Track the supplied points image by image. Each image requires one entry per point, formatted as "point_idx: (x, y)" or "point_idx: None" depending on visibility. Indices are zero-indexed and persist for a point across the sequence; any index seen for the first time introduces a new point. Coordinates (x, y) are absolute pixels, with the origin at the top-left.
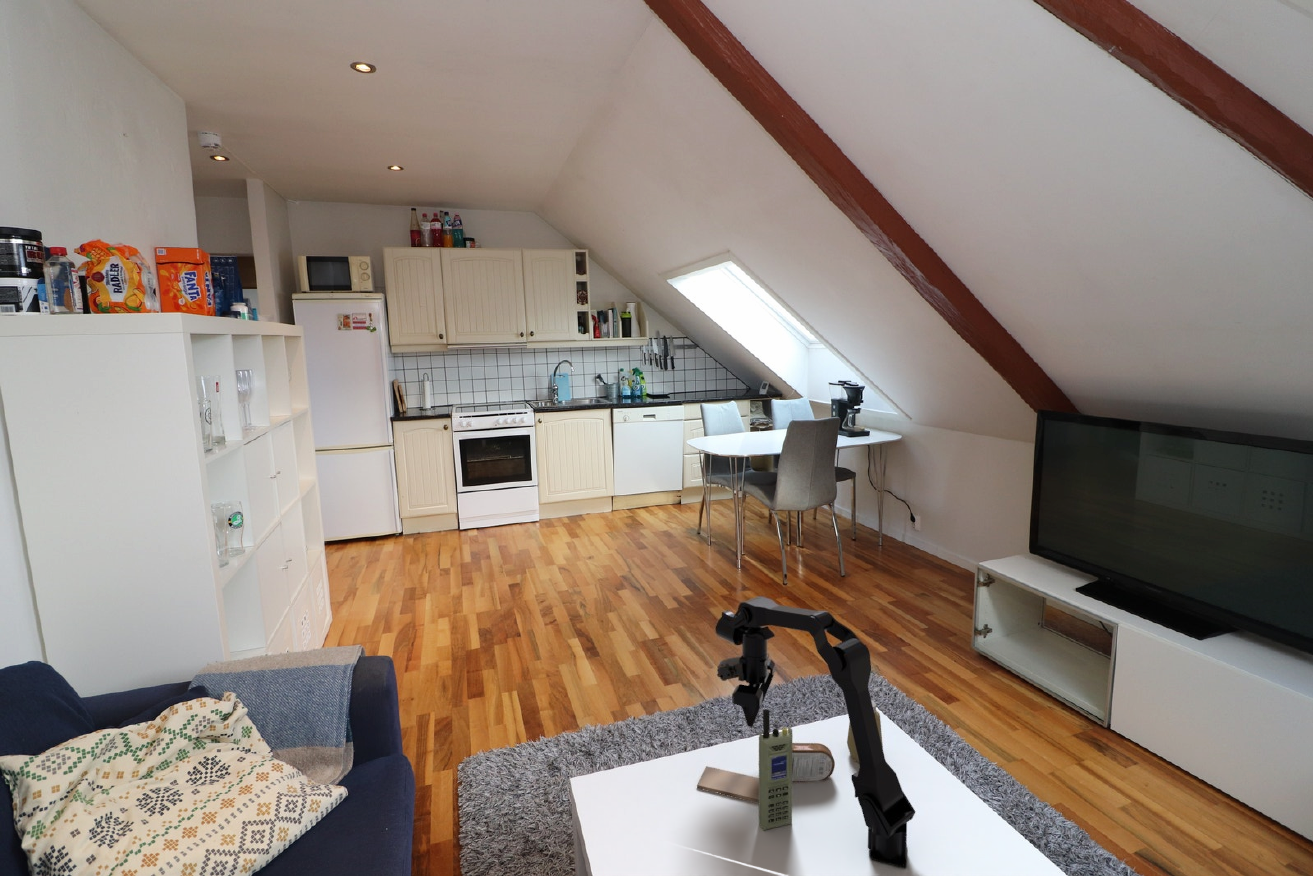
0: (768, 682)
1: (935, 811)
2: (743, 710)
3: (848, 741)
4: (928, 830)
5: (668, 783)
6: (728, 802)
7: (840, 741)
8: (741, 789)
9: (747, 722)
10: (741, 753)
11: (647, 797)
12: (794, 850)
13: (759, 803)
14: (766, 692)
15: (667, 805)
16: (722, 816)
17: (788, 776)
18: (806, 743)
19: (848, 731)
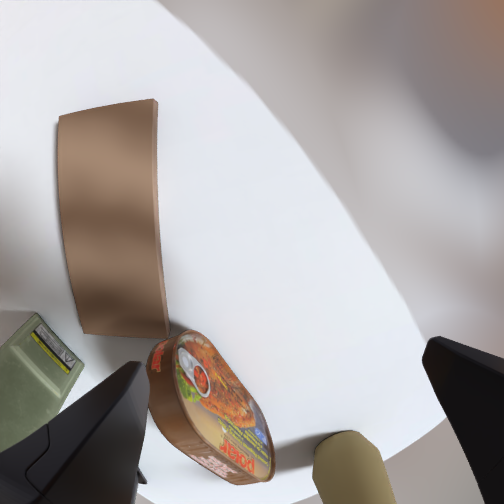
0: (494, 499)
1: (233, 499)
2: (10, 452)
3: (344, 462)
4: (190, 495)
5: (78, 38)
6: (55, 223)
7: (395, 402)
8: (86, 254)
9: (110, 381)
10: (302, 192)
11: (29, 34)
12: None
13: (7, 340)
14: (463, 450)
15: (12, 86)
16: (16, 225)
17: None
18: (243, 471)
19: (363, 470)
